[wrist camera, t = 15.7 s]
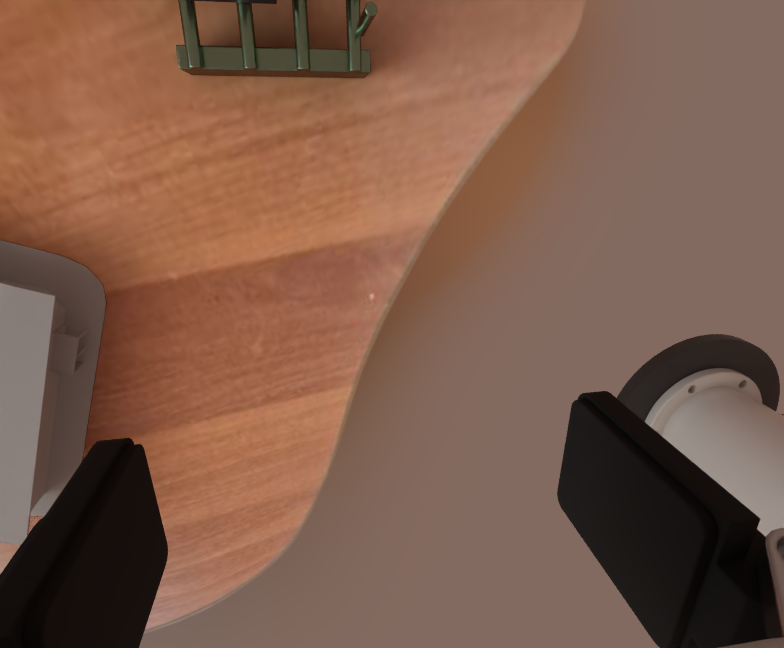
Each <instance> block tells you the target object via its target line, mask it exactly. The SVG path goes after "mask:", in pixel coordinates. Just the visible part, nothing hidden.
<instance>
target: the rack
mask: <svg viewBox="0 0 784 648" xmlns="http://www.w3.org/2000/svg"><path fill="white" fill-rule="evenodd" d="M178 2H179V8H180V15H181V22H182V29H183V36H184V42H185V45H176V51H177V57H178V64H179V68H180V69H181V70H183V71H185V72H187V73H189V74H190V75H205V76H261V77H316V78H365V77H366V76H367V75H368V74H369V73H370V72H371V63H370V51H369V50H361V37H362V36H364V34H365V33H366V31H367V29H368V27H369V26H370V24H371V22H372V20H373V19H374V17H375V15H376V14H377V6H376V4H375V3H373V2H368V3H367V4H366V6H365V8H364V10H363V12H362V14H361V17H360V0H346V17H347V47H348V50H342V49H309V32H308V15H307V0H292V7H293V21H294V36H295V48H271V47H256V43H255V33H254V23H253V13H252V3H240V2H236V3H237V13H238V22H239V31H240V40H241V47H235V46H200V39H199V32H198V25H197V17H196V10H195V3H194V1H190V0H178Z"/></svg>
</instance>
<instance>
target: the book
mask: <svg viewBox="0 0 784 648" xmlns="http://www.w3.org/2000/svg"><path fill="white" fill-rule="evenodd" d="M105 309H106V298H105V293H104V288H103V284H102V283H101V282H100V281H99V280H98V279H97V277H96V276H95V275H94V274H93V273H92V272H91V271H90V270H89V269H88V268H87V267H86V266H84V265H81V264H79V263H77V262H75V261H73V260H71V259H68V258H66V257H64V256H61V255H57V254H53V253H49V252H45V251H42V250H38V249H34V248H30V247H26V246H22V245H18V244H14V243H10V242H6V241H2V240H0V542H1V543H11V544H22V543H23V542H24V540H25V539H26V537H27V536H28V532H29V523H30V516H45V515H46V513H47V512H48V511H49V509H50V508H51V506H52V505H53V503H54V502H55V500H56V499H57V497H58V496H59V495H60V493H61V492H62V490H63V489H64V487H65V486H66V484H67V483H68V481H69V480H70V479H71V477H72V476H73V474H74V473H75V471H76V470H77V468H78V467H79V465H80V464H81V463H82V458H83V451H84V445H85V438H86V432H87V425H88V419H89V412H90V406H91V399H92V393H93V386H94V380H95V374H96V367H97V361H98V354H99V348H100V341H101V335H102V328H103V322H104V315H105Z"/></svg>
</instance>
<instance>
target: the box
mask: <svg viewBox="0 0 784 648" xmlns="http://www.w3.org/2000/svg"><path fill="white" fill-rule="evenodd" d="M190 1H215V2H240V3H265V4H276V3H277V1H276V0H190Z"/></svg>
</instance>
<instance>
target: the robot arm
mask: <svg viewBox="0 0 784 648" xmlns="http://www.w3.org/2000/svg"><path fill="white" fill-rule="evenodd" d="M557 495H558V501H559V504H560V506H561V508H562V510H563V511H564V512H565V514H566V515H567V517H568V518H569V520H570V521H571V522H572V524H573V525H574V527H575V528H576V530H577V531H578V533H579V534H580V536H581V537H582V538H583V540H584V541H585V543H586V544H587V546H588V547H589V548H590V550H591V551H592V553H593V554H594V556H595V557H596V559H597V560H598V561H599V563H600V564H601V566H602V567H603V569H604V570H605V572H606V573H607V574H608V576H609V577H610V579H611V580H612V582H613V583H614V584H615V586H616V587H617V589H618V590H619V592H620V593H621V594H622V596H623V598H624V599H625V600H626V602H627V603H628V605H629V606H630V608H631V609H632V611H633V612H634V613H635V615H636V616H637V618H638V619H639V621H640V622H641V624H642V625H643V626H644V628H645V629H646V631H647V632H648V634H649V635H650V636H651V638H652V639H653V641H654V642H655V643H656V644H657V645H658V646H659V647H660V648H784V414H779V413H777V412H775V411H774V410H772V409H770V408H769V407H767V406H765V405H763V404H762V398H761V394H760V391H759V389H758V387H757V385H756V384H755V383H754V382H753V381H752V380H751V379H750V378H748V377H746V376H745V375H743V374H741V373H739V372H737V371H734V370H731V369H726V368H713V369H707V370H703V371H699V372H696V373H694V374H692V375H690V376H687V377H685V378H684V379H682V380H681V381H679V382H677V383H676V384H674V385H673V386H672V387H671V388H670V389H668V390H667V391H666V392H665V393H664V394H663V395H662V396H661V397H660V398H659V399H658V400H657V402H656V403H655V404H654V406H653V407H652V409H651V410H650V412H649V414H648V416H647V418H646V420H645V422H644V421H643V420H642V419H641V418H639V417H638V416H637V415H636V414H635V413H633V412H632V411H631V410H630V409H629V408H628V407H626V406H625V405H624V404H623V403H622V402H620V401H619V400H618V399H617V398H616V397H614V396H613V395H612V394H611V393H609V392H607V391H601V392H591V393H583V394H581V395H580V396H579V397H578V400H576V401H574V402H573V403H572V407H571V413H570V419H569V425H568V431H567V437H566V443H565V449H564V455H563V461H562V467H561V473H560V479H559V485H558V492H557ZM167 556H168V546H167V540H166V536H165V532H164V528H163V524H162V520H161V516H160V512H159V508H158V504H157V500H156V496H155V492H154V487H153V483H152V479H151V475H150V471H149V467H148V463H147V459H146V455H145V451H144V448H143V446H142V445H141V444H136V445H134V442H133V441H132V439H130V438H123V439H112V440H102V441H97V442H96V443H95V444H94V445H93V447H92V448H91V449H90V451H89V452H88V454H87V455H86V457H85V458H84V460H83V461H82V463H81V464H80V465H79V467H78V468H77V470H76V471H75V473H74V474H73V476H72V477H71V479H70V480H69V481H68V483H67V484H66V486H65V487H64V489H63V490H62V492H61V493H60V495H59V496H58V497H57V499H56V500H55V502H54V503H53V505H52V506H51V508H50V509H49V511H48V512H47V513H46V515H45V516H44V518H42V519H40V520H39V521H38V523H37V524H36V525H35V526H34V527H33V529H32V530H31V532H30V533H29V534H28V536H27V537H26V539H25V540H24V542H23V543H22V544H21V546H20V547H19V549H18V550H17V552H16V553H15V554H14V556H13V557H12V559H11V560H10V562H9V563H8V565H7V566H6V567H5V569H4V570H3V572H2V573H1V575H0V648H139V645H140V642H141V639H142V636H143V633H144V630H145V627H146V624H147V621H148V618H149V615H150V612H151V609H152V605H153V602H154V599H155V596H156V593H157V590H158V587H159V584H160V581H161V578H162V575H163V572H164V569H165V566H166V562H167Z"/></svg>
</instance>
